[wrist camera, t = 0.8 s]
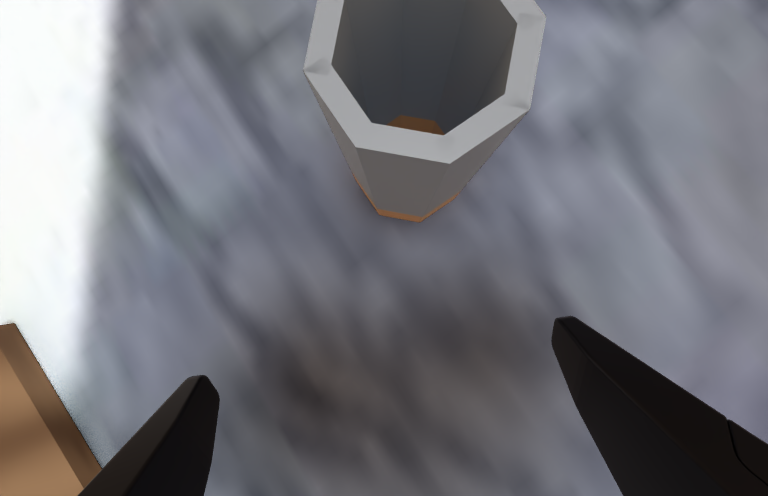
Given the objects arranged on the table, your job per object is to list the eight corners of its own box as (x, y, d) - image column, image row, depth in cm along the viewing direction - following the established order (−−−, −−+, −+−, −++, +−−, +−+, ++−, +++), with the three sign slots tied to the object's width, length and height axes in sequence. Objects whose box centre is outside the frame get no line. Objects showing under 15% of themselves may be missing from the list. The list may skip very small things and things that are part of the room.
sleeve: (477, 183, 23) (586, 70, 10) (395, 239, 23) (393, 202, 10) (421, 103, 23) (452, -109, 10) (340, 158, 23) (266, 18, 10)
